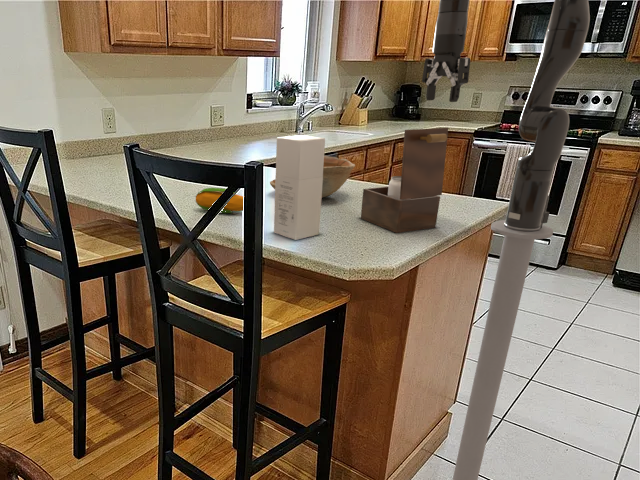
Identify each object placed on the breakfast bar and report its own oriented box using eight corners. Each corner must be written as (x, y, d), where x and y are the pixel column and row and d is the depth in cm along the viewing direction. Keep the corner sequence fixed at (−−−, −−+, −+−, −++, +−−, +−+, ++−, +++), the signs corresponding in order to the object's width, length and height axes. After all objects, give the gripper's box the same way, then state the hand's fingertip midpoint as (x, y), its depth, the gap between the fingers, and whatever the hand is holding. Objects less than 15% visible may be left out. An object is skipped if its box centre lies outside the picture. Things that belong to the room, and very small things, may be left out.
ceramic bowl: (257, 184, 192) (266, 142, 187) (323, 193, 201) (333, 153, 195) (286, 205, 166) (296, 158, 161) (360, 214, 175) (373, 169, 169)
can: (399, 216, 155) (404, 175, 150) (412, 221, 150) (418, 179, 145) (380, 217, 153) (385, 176, 149) (393, 223, 148) (398, 180, 143)
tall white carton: (319, 234, 141) (325, 138, 131) (295, 240, 136) (300, 140, 126) (297, 227, 147) (301, 134, 137) (273, 232, 142) (276, 137, 132)
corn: (201, 182, 166) (260, 187, 159) (202, 205, 170) (260, 211, 162) (190, 188, 160) (251, 194, 153) (192, 212, 164) (251, 219, 156)
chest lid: (404, 129, 133) (418, 130, 128) (446, 127, 138) (461, 127, 133) (399, 199, 139) (412, 201, 134) (439, 194, 144) (453, 197, 139)
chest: (360, 218, 156) (363, 188, 152) (397, 213, 161) (400, 185, 157) (396, 233, 142) (400, 201, 139) (435, 227, 147) (440, 196, 143)
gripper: (419, 34, 138) (412, 100, 145) (459, 31, 126) (450, 103, 133) (441, 34, 140) (433, 99, 147) (483, 31, 129) (472, 101, 135)
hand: (441, 100), depth 140 cm, fingers open, 8 cm apart
